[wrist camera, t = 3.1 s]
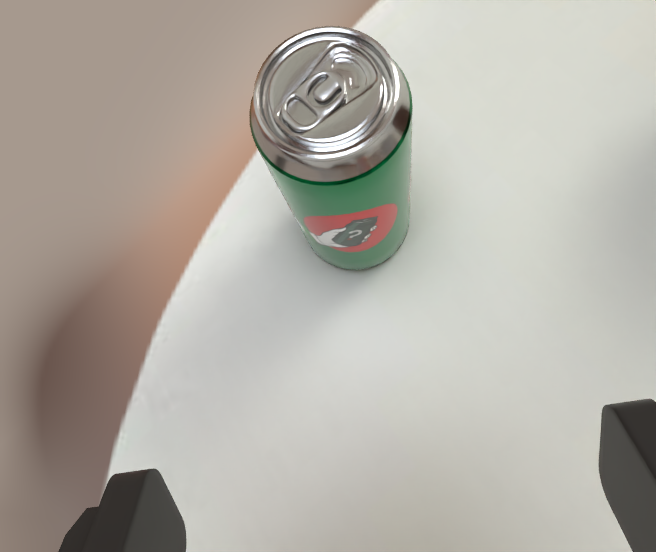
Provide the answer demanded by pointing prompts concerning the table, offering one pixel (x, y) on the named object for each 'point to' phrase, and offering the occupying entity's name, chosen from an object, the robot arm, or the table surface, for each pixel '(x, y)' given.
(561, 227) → the table surface
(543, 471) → the table surface
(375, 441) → the table surface
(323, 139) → the soda can
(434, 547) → the table surface
